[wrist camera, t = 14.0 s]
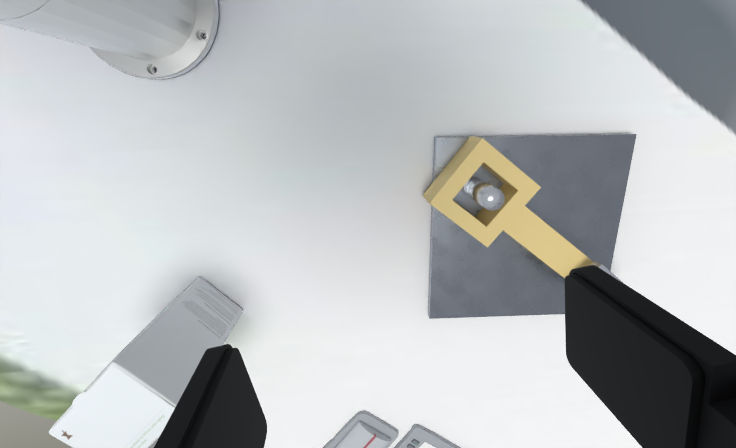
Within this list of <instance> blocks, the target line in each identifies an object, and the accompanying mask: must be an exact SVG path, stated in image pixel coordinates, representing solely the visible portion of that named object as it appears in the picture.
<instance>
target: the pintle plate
mask: <svg viewBox="0 0 736 448" xmlns="http://www.w3.org/2000/svg"><path fill="white" fill-rule="evenodd" d="M475 137H480V138H483V139H484V140H486V141H487V142H488V143H489V144H490V145H491V146H493V147H494V148H495V149H496V150H497V151H499V152H500V153H501V154H502V155H503V156H505V157H506V158H507V159H508V160H509V161H511V162H512V163H513V164H514V165H515V166H516V167H518V168H519V169H520V170H521V171H522V172H524V173H525V174H526V175H527V176H528V177H530V178H531V179H532V180H533V181H534V182H535V183H537V184H538V185H539V186H540V187H541V188H540V189H539V190H538V191H537V193H536V194H535V195H534V196H533V197H532V198H531V199H530V200H529V202H528V203H527V204H526V205H525V206H526V207H527V208H528V209H529V210H531V211H532V212H533V213H534V214H535V215H537V216H538V217H539V218H540V219H542V220H543V221H544V222H545V223H546V224H548V225H549V226H550V227H551V228H553V229H554V230H555V231H556V232H557V233H559V234H560V235H561V236H562V237H564V238H565V239H566V240H567V241H569V242H570V243H571V244H572V245H573V246H575V247H576V248H577V249H578V250H580V251H581V252H582V253H583V254H584V255H586V256H587V257H588V258H589V259H591V260H592V261H593V263H592V264H590V265H595V266H597V267H599V268H600V269H602V270H603V271H605V272H606V273H608V274H610V275H611V276H613V277H614V278H616V279H617V280H619V279H618V278H617V277H616V276H615V275H614V274H613V273H611V272H610V269H611V264H612V258H613V253H614V248H615V243H616V238H617V232H618V227H619V222H620V217H621V212H622V206H623V201H624V196H625V191H626V186H627V180H628V175H629V170H630V165H631V160H632V154H633V149H634V144H635V139H636V134H583V135H529V136H475ZM468 138H469V137H434V158H433V182H434V181H435V179H436V178H437V177H438V176H439V174H440V173H441V172H442V171H443V169H444V168H445V167H446V166H447V164H448V163H449V162H450V161H451V159H452V158H453V157H454V156H455V154H456V153H457V152H458V151H459V150H460V148H461V147H462V146H463V145H464V143H465V142H466V141H467V140H468ZM503 184H504V183H502V182H501V181H500V180H499V179H497V178H496V177H495V176H494V175H493V174H491V173H490V172H489V171H488V170H486V169H485V168H484V167H483V166H482V165H481V166H480V167H479V168H478V169H477V171H476V172H475V173H474V174H473V175H472V177H471V178H470V179H469V180H468V181H467V183H466V184H465V185H464V186H463V187H462V189H461V190H460V191H459V192H458V193H457V195H456V196H455V197H454V198H453V200H454V201H455V202H456V203H458V204H459V205H460V206H461V207H463V208H464V209H465V210H467V211H468V212H469V213H470V214H472V215H473V216H474V217H475V216H476V215H477V214H478V213H479V212H480V211H481V209H482V208H483V207H484V208H485V209H487V210H490V211H494V210H497V209H499V208H500V207H501V206H502V205H503V203H504V194H503V192H502V191H501V190H499V188H500V187H501V186H502V185H503ZM564 281H565V278H563V277H562V276H561V275H560V274H558V273H557V272H556V271H554V270H553V269H552V268H551V267H549V266H548V265H547V264H545V263H544V262H543V261H542V260H540V259H539V258H538V257H537V256H535V255H534V254H533V253H531V252H530V251H529V250H528V249H526V248H525V247H524V246H523V245H521V244H520V243H519V242H517V241H516V240H515V239H514V238H512V237H511V236H510V235H508V234H507V233H506V232H505V231H502V232H501V233H500V234H499V235H498V236H497V238H496V239H495V240H494V241H493V242H492V243H491V244H490V245H489V247H488V248H487V247H486V246H485V245H483V244H482V243H481V242H480V241H478V240H477V239H476V238H474V237H473V236H472V235H470V234H469V233H468V232H466V231H465V230H464V229H462V228H461V227H460V226H459V225H457V224H456V223H455V222H453V221H452V220H451V219H449V218H448V217H447V216H445V215H444V214H443V213H441V212H440V211H439V210H437V209H436V208H435V207H434V206H432V213H431V241H430V269H429V297H428V316H429V318H459V317H488V316H518V315H547V314H565V282H564ZM619 281H620V280H619ZM620 282H621V281H620ZM622 283H623V282H622Z"/></svg>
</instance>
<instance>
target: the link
mask: <svg viewBox="0 0 736 448" xmlns="http://www.w3.org/2000/svg"><path fill="white" fill-rule="evenodd" d="M481 165H482V166H483V167H484V168H485V169H486V170H488V171H489V172H490V173H491V174H493V175H494V176H495V177H496V178H497V179H499V180H500V181H501V182H502V183H504V184H503V185H502V186H501V187H500V188H499V190H501V191H502V192H503V194H504V203H503V205H502V206H501V207H500V208H499V209H497V210H494V211H490V210H487V209H485V208H484V207H483V208H482V209H481V211H480V212H479V213H478V214H477V215H476V216H475V217H474V216H473V215H472V214H470V213H469V212H468V211H467V210H465V209H464V208H463V207H461V206H460V205H459V204H458V203H456V202H455V201H454V200H453V198H454V197H455V196H456V195H457V193H458V192H459V191H460V190H461V189H462V187H463V186H464V185H465V184H466V183H467V181H468V180H469V179H470V178H471V177H472V175H473V174H474V173H475V172H476V171H477V169H478V168H479V167H480V166H481ZM540 188H541V187H540V186H539V185H538V184H537V183H535V182H534V181H533V180H532V179H531V178H530V177H528V176H527V175H526V174H525V173H524V172H522V171H521V170H520V169H519V168H518V167H516V166H515V165H514V164H513V163H512V162H511V161H509V160H508V159H507V158H506V157H505V156H503V155H502V154H501V153H500V152H499V151H497V150H496V149H495V148H494V147H493V146H491V145H490V144H489V143H488V142H487V141H486V140H484V139H483V138H480V137H474V136H470V137H469V138H468V140H467V141H466V142H465V143H464V145H463V146H462V147H461V148H460V150H459V151H458V152H457V153H456V154H455V156H454V157H453V158H452V159H451V161H450V162H449V163H448V164H447V166H446V167H445V168H444V169H443V171H442V172H441V173H440V174H439V176H438V177H437V178H436V179H435V181H434V182H433V183H432V184H431V185H430V187H429V188H428V189H427V190H426V192H425V193H424V194H423V196H424V198H425V199H426V200H427V201H428V202H429V203H430V204H431V205H432V206H434V207H435V208H436V209H437V210H439V211H440V212H441V213H443V214H444V215H445V216H447V217H448V218H449V219H451V220H452V221H453V222H455V223H456V224H457V225H459V226H460V227H461V228H462V229H464V230H465V231H466V232H468V233H469V234H470V235H472V236H473V237H474V238H476V239H477V240H478V241H480V242H481V243H482V244H483V245H485V246H486V247H487V248H488V247H489V245H490V244H491V243H492V242H493V241H494V240H495V239H496V238H497V236H498V235H499V234H500V233H501V232H502V231H505V232H506V233H507V234H508V235H510V236H511V237H512V238H514V239H515V240H516V241H517V242H519V243H520V244H521V245H523V246H524V247H525V248H526V249H528V250H529V251H530V252H531V253H533V254H534V255H535V256H537V257H538V258H539V259H540V260H542V261H543V262H544V263H545V264H547V265H548V266H549V267H551V268H552V269H553V270H554V271H556V272H557V273H558V274H560V275H561V276H562V277H563V278H565V277H566V276H568V275H569V273H570V271H571V270H572V269H575V268H580V267H585V266H589V265H590V264H592V263H593V261H592V260H591V259H589V258H588V257H587V256H586V255H584V254H583V253H582V252H581V251H580V250H578V249H577V248H576V247H575V246H573V245H572V244H571V243H570V242H569V241H567V240H566V239H565V238H564V237H562V236H561V235H560V234H559V233H557V232H556V231H555V230H554V229H553V228H551V227H550V226H549V225H548V224H546V223H545V222H544V221H543V220H542V219H540V218H539V217H538V216H537V215H535V214H534V213H533V212H532V211H531V210H529V209H528V208H527V207H526V206H525V205H526V204H527V203H528V202H529V200H530V199H531V198H532V197H533V196H534V195H535V194H536V193H537V191H538V190H539V189H540Z"/></svg>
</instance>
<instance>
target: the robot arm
mask: <svg viewBox="0 0 736 448" xmlns="http://www.w3.org/2000/svg"><path fill="white" fill-rule="evenodd" d="M218 19H219V12H218V0H0V24H3V25H7V26H11V27H15V28H19V29H23V30H27V31H30V32H34V33H38V34H42V35H46V36H50V37H54V38H58V39H62V40H66V41H70V42H74V43H78V44H82V45H86V46H89V47H90V48H91V49H92V50H93V52H94V53H95V54H96V55H97V56H98V57H100V58H101V59H102V60H104V61H105V62H106V63H108V64H109V65H110V66H112V67H114V68H116V69H118V70H120V71H122V72H124V73H127V74H130V75H133V76H136V77H140V78H146V79H167V78H173V77H177V76H179V75H182V74H184V73H186V72H188V71H189V70H191V69H192V68H194V67H195V66H197V65H198V63H199V62H200V61H201V60H202V59H203V58H204V57H205V56H206V54H207V52H208V51H209V49H210V47H211V46H212V43H213V41H214V38H215V35H216V32H217V25H218ZM203 34H206V38H205V39H203V37H202V36H203ZM155 68H157V72H155ZM564 282H565V324H566V355H567V359H568V361H569V363H570V365H571V366H572V368H573V369H574V370H575V371H576V372H577V373H578V374H579V376H580V377H581V378H582V379H583V380H584V381H585V382H586V384H587V385H588V386H589V387H590V388H591V389H592V390H593V392H594V393H595V394H596V395H597V396H598V397H599V398H600V400H601V401H602V402H603V403H604V404H605V405H606V406H607V408H608V409H609V410H610V411H611V412H612V413H613V414H614V416H615V417H616V418H617V419H618V420H619V421H620V422H621V424H622V425H623V426H624V427H625V428H626V429H627V430H628V432H629V433H630V434H631V435H632V436H633V437H634V438H635V440H636V441H637V442H638V443H639V444H640V445H641V446H642V447H643V448H736V355H734V354H733V353H731V352H730V351H728V350H727V349H725V348H723V347H722V346H720V345H719V344H717V343H716V342H714V341H713V340H711V339H709V338H708V337H706V336H705V335H703V334H702V333H700V332H698V331H697V330H695V329H694V328H692V327H691V326H689V325H688V324H686V323H684V322H683V321H681V320H680V319H678V318H677V317H675V316H674V315H672V314H670V313H669V312H667V311H666V310H664V309H663V308H661V307H659V306H658V305H656V304H655V303H653V302H652V301H650V300H649V299H647V298H645V297H644V296H642V295H641V294H639V293H638V292H636V291H634V290H633V289H631V288H630V287H628V286H627V285H625V284H624V283H622V282H620V281H619V280H617V279H616V278H614V277H613V276H611V275H610V274H608V273H606V272H605V271H603V270H602V269H600V268H599V267H597V266H595V265H589V266H585V267H580V268H575V269H572V270H571V271H570V273H569V275H568V276H566V277H565V281H564ZM266 434H267V423H266V419H265V416H264V414H263V411H262V408H261V406H260V403H259V401H258V398H257V395H256V393H255V390H254V388H253V385H252V382H251V380H250V377H249V375H248V372H247V370H246V367H245V364H244V362H243V359H242V357H241V354H240V352H239V350H238V349H237V348H232V346H231V345H229V344H226V345H222V346H217V347H212V348H208V349H207V350H206V351H205V353H204V355H203V356H202V358H201V360H200V362H199V364H198V366H197V368H196V370H195V372H194V373H193V375H192V377H191V379H190V381H189V383H188V385H187V387H186V388H185V390H184V392H183V394H182V396H181V398H180V400H179V402H178V403H177V405H176V407H175V409H174V411H173V413H172V415H171V417H170V418H169V420H168V422H167V424H166V426H165V428H164V430H163V432H162V433H161V435H160V437H159V439H158V441H157V443H156V445H155V447H154V448H264V444H265V439H266Z"/></svg>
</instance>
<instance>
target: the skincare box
mask: <svg viewBox="0 0 736 448" xmlns="http://www.w3.org/2000/svg"><path fill="white" fill-rule="evenodd" d="M242 311H243V309H241V308H240V307H239V306H238V305H236V304H235V303H234V302H232V301H231V300H230V299H229V298H227V297H226V296H225V295H223V294H222V293H221V292H220V291H218V290H217V289H216V288H214V287H213V286H212V285H211V284H209V283H208V282H207V281H206V280H204V279H203V278H202V277H200V276H199V277H198V278H197V279H196V280H195V281H194V282H193V283H192V284H191V285H190V286H189V287H187V288H186V289H185V290H184V291H183V292H182V293H181V294H180V295H179V296H178V297H177V298H176V299H175V300H174V301H173V302H172V303H170V304H169V305H168V306H167V307H166V308H165V309H164V310H163V311H162V312H161V313H160V314H159V315H158V316H157V317H156V318H155V319H154V320H153V321H152V322H151V323H149V324H148V325H147V326H146V327H145V328H144V329H143V330H142V331H141V332H140V333H139V334H138V335H137V336H136V337H135V338H134V339H133V340H132V341H131V342H130V343H129V344H128V345H127V346H126V347H125V348H124V349H123V350H122V351H121V352H120V353H119V354H118V355H117V356H116V357H115V358H114V359H113V360H112V361H111V362H110V364H109V365H108V366H107V367H106V368H105V369H104V370H103V371H102V372H101V373H100V374H99V375H98V377H97V378H96V379H95V380H94V381H93V382H92V383H91V384H90V385H89V386H88V388H87V389H86V390H85V391H84V392H82V393H81V394H79V395H78V396H77V397H76V398H75V399H74V401H73V403H72V405H71V406H70V408H69V409H68V410H67V411H66V412H65V413H64V414H63V415H62V416H61V417H60V419H59V420H58V421H57V422H56V423H55V424H54V425H53V426H52V428H51V429H50V431H49V434H51V435H52V436H54V437H56V438H57V439H59V440H61V441H63V442H64V443H66V444H68V445H70V446H71V447H73V448H148V447H149V446H150V445H151V444H152V443H153V442H154V441H155V440H156V439H157V438H158V437H159V436H160V435H161V433H162V432H163V430H164V428H165V426H166V424H167V422H168V420H169V418H170V417H171V415H172V413H173V411H174V409H175V407H176V405H177V403H178V402H179V400H180V398H181V396H182V394H183V392H184V390H185V388H186V387H187V385H188V383H189V381H190V379H191V377H192V375H193V373H194V372H195V370H196V368H197V366H198V364H199V362H200V360H201V358H202V356H203V355H204V353H205V351H206V350H207V349H208V348H212V347H217V346H222V345H223V343H224V342H225V340H226V338H227V337H228V335H229V333H230V332H231V330H232V328H233V327H234V325H235V323H236V322H237V320H238V318H239V317H240V315H241V313H242Z"/></svg>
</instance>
